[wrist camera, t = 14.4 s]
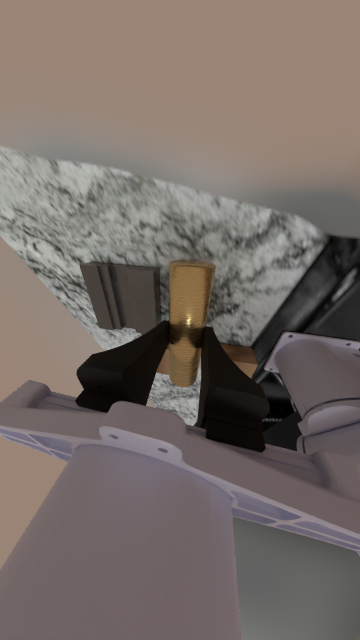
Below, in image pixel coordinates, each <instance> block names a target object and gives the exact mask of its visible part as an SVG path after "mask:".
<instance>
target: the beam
mask: <svg viewBox="0 0 360 640" xmlns="http://www.w3.org/2000/svg"><path fill="white" fill-rule="evenodd" d="M220 344H221V346H222V347H223V349H224V351H225V352H226V353H227V355H228V356H229V357H230V359H231V360H232V361H233V362H234V363H235V364H236V365H237V366H238V367H239V368H240V369H241V370H242V371H243V372H244V373H245V374H246V375H247V376H248V377H250V378H251V377H252V375H253V373H254V371H255V369H256V368H257V366H258V364H257V361H256V359H255V356H254V353H253V350H252V348H247V347H241V346H234V345H228V344H222V343H220ZM157 373H162V374H167V375H169V343H168V346H167V349H166V351H165V354H164V356H163V358H162V360H161V362H160V364H159V367H158V369H157Z"/></svg>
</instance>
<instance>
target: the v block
mask: <svg viewBox="0 0 360 640" xmlns="http://www.w3.org/2000/svg"><path fill="white" fill-rule="evenodd" d="M80 268H81V271H82V275H83V278H84V281H85V284H86V287H87V290H88V293H89V296H90V299H91V302H92V306H93V309H94V312H95V315H96V318H97V321H98V324H99V327H100V328H103V329H109V330H114V329H119V330H122V329H123V328H124V327H126V328H132V329H136V332H138V333H142V335H144V334H145V333H147V332H149V331H150V330H151V329H153V328H154V327H156V326H157V325H158V324H159V323H161V311H160V283H159V268H153V267H142V266H131V265H120V264H108V263H97V262H90V263H85V264H81V265H80Z"/></svg>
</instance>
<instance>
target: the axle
mask: <svg viewBox="0 0 360 640" xmlns="http://www.w3.org/2000/svg"><path fill="white" fill-rule="evenodd" d="M215 269H216V265H215V264H212V263H209V262H203V261H195V260H177V261H172V262H170V279H169V378H170V380H171V382H172V383H173V384H175V385H176V386H179V387H188V386H191V385H192V384H193V383H194V382H195V381H196V378H197V373H198V367H199V361H200V355H201V350H202V343H203V337H204V331H205V326H206V321H207V315H208V309H209V303H210V298H211V292H212V286H213V280H214V275H215Z"/></svg>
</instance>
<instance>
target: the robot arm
mask: <svg viewBox="0 0 360 640" xmlns="http://www.w3.org/2000/svg"><path fill="white" fill-rule="evenodd" d="M289 335H291V336H289ZM168 343H169V321H165V320H164V321H162V322H161V323H159V324H158V325H157V326H156V327H154V328H153V329H151V330H150V331H149V332H147V333H145V334H144V335H142V336H141V337H139V338H137V339H135V340H133V341H131V342H129V343H126V344H124V345H122V346H119V347H116V348H113V349H110V350H107V351H104V352H100V353H96V354H92V355H91V356H90V357H89V358H88V359H87V360H86V361H85V362H84V363H83V364H82V365H81V366H80V367H79V368H78V370H77V377H78V379H79V381H80V383H81V385H82V386H83V388H84V390H83V391H82V393H81V394H80V395H79V396H78V397H77V398H76V397H72V396H68V395H63V394H60V393H56V392H52V391H50V389H49V387H48V386H47V385H45V384H43V383H39V382H35V381H31V380H29V381H27V382H26V383H25V384H23V385H22V386H21V387H20V388H18V389H17V390H16V391H14V392H13V393H12V394H11V395H9V396H8V397H7V398H5V399H4V400H3V401H2V402H1V403H0V436H2V437H3V438H5V439H7V440H9V441H12V442H15V443H18V444H21V445H24V446H27V447H30V448H32V449H35V450H38V451H41V452H43V453H46V454H49V455H51V456H53V457H56V458H59V459H61V460H64V461H66V462H68V463H67V465H66V466H65V468H64V470H63V471H62V473H61V474H60V476H59V477H58V479H57V481H56V482H55V484H54V486H53V487H52V489H51V490H50V492H49V493H48V495H47V496H46V498H45V500H44V501H43V503H42V504H41V506H40V508H39V509H38V511H37V512H36V514H35V516H34V517H33V519H32V520H31V522H30V524H29V525H28V527H27V528H26V530H25V532H24V533H23V535H22V536H21V538H20V539H19V541H18V543H17V544H16V546H15V548H14V549H13V550H12V552H11V554H10V555H9V557H8V559H7V560H6V562H5V563H4V565H3V566H2V568H1V570H0V640H241V630H240V616H239V603H238V590H237V577H236V563H235V549H234V537H233V536H234V535H233V522H232V516H234V517H237V518H241V519H245V520H249V521H252V522H256V523H260V524H264V525H267V526H271V527H275V528H279V529H283V530H286V531H290V532H294V533H297V534H301V535H305V536H308V537H312V538H316V539H319V540H322V541H325V542H329V543H332V544H336V545H339V546H342V547H345V548H349V549H352V550H355V551H357V553H358V554H359V556H360V351H359V350H358V349H359V348H360V342H359V341H353V340H345V339H338V338H331V337H324V336H316V335H309V334H302V333H294V332H283V333H282V334H281V336H280V338H279V340H278V342H277V344H276V345H275V347H274V349H273V351H272V353H271V355H270V356H269V358H268V360H267V362H266V364H265V366H264V369H265V370H266V371H272V372H277V373H280V375H281V377H282V379H283V381H284V383H285V385H286V387H287V389H288V391H289V393H290V395H291V397H292V399H293V401H294V403H295V405H296V407H297V409H298V411H299V413H300V415H301V417H302V419H303V421H302V422H300V423H298V426H299V428H300V430H301V432H302V434H303V435H301V436H300V437H299V438H298V440H297V451H298V452H296V451H292V450H288V449H284V448H280V447H276V446H272V445H267V444H265V442H264V438H263V434H262V431H263V425H262V420H263V419H264V417H265V416H266V415H267V414H268V412H269V410H270V408H269V403H268V400H267V398H266V395H265V393H264V391H263V389H262V387H261V386H260V385H259V384H257V383H256V382H255V381H253V380H252V379H251V378H250V377H248V376H247V375H246V374H245V373H244V372H243V371H242V370H241V369H240V368H239V367H238V366H237V365H236V364H235V363H234V362H233V361H232V360H231V359H230V357H229V356H228V355H227V353H226V352H225V351H224V349H223V347H222V346H221V344H220V342H219V341H218V339H217V337H216V335H215V333H214V330H213V328H212V327H206V326H205V331H204V337H203V343H202V350H201V388H200V399H199V409H198V419H197V427H194V426H190V425H186V424H185V422H184V420H183V419H182V418H181V417H180V416H178V415H177V414H174V413H172V412H169V411H165V410H161V409H157V408H153V407H148V406H146V403H147V399H148V397H149V393H150V390H151V387H152V384H153V381H154V378H155V375H156V372H157V369H158V367H159V364H160V362H161V360H162V358H163V356H164V354H165V351H166V349H167V346H168ZM270 368H271V369H270Z"/></svg>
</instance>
